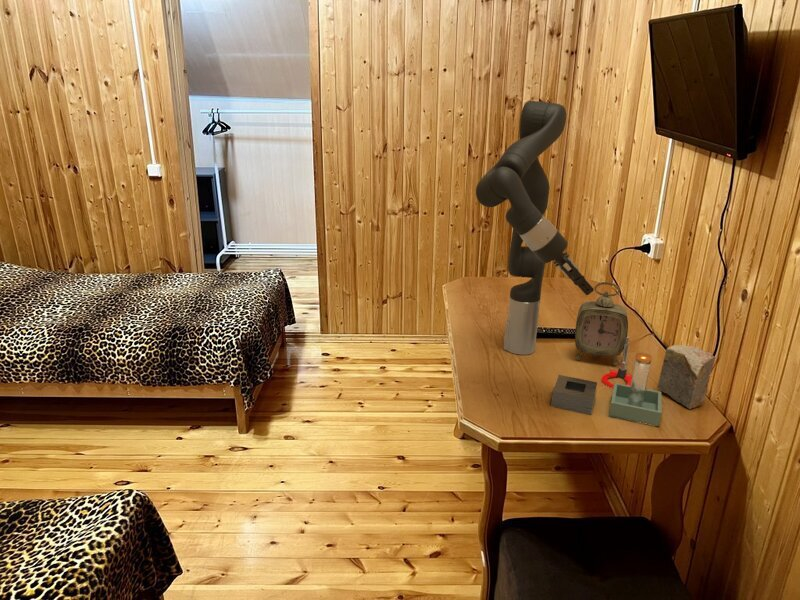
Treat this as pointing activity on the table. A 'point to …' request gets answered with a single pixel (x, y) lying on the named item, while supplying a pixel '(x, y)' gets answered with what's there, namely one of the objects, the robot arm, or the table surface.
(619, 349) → the tabletop clock
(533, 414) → the table surface
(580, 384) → the block
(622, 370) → the tow hook
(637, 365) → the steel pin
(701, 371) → the geological specimen
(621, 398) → the tray
